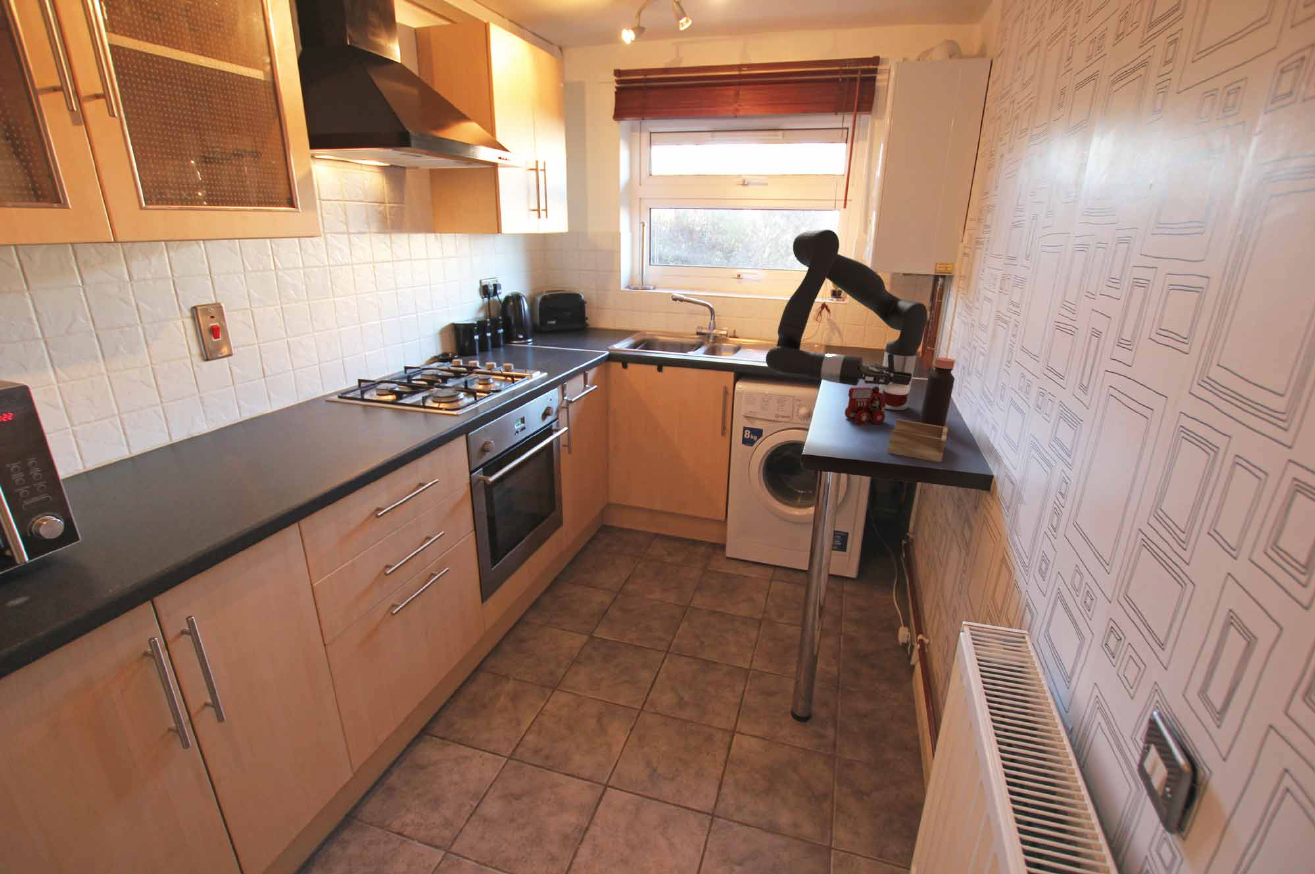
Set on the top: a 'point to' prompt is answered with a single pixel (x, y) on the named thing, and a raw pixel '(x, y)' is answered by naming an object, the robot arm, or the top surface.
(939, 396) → the bottle
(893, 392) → the cocoa
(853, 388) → the toy fire truck
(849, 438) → the top surface
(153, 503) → the top surface
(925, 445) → the wooden tray
